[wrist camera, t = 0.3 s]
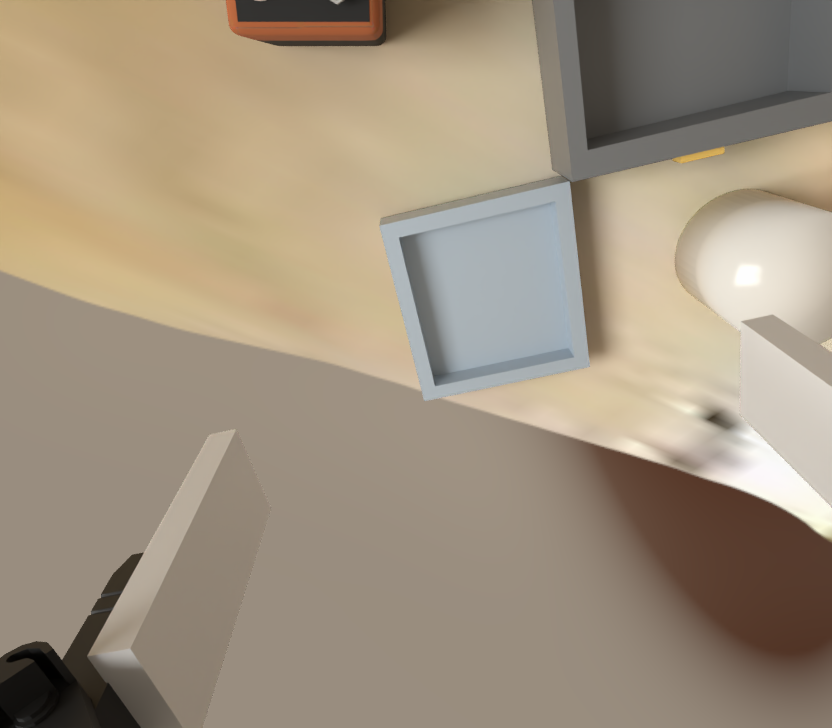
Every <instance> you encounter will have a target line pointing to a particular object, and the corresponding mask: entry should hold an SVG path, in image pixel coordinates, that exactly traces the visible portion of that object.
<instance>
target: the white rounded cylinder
mask: <svg viewBox="0 0 832 728" xmlns="http://www.w3.org/2000/svg"><path fill="white" fill-rule="evenodd" d="M675 270H676V273H677V277H678V279H679V281H680V283H681V285H682V286H683V288H684V289H685V290H686V291H687V292H688V293H689V294H690V295H691V296H693V297H694V298H695V299H697V300H698V301H699V302H701V303H702V304H703V305H705V306H706V307H707V308H709V309H710V310H711V311H713V312H714V313H715V314H717V315H718V316H719V317H721V318H722V319H723V320H725V321H726V322H727V323H729V324H730V325H731V326H733V327H734V328H735V329H737V330H738V331H739V332H741V321H744V320H749V319H754V318H758V317H763V316H768V315H772V314H773V315H774V316H776V317H778V318H779V319H781V320H782V321H784V322H785V323H787V324H788V325H790V326H792V327H793V328H795V329H796V330H798V331H799V332H801V333H802V334H804V335H806V336H807V337H809V338H810V339H812V340H813V341H815V342H816V343H818V344H821V343H823V342H825V341H827V340H829V339H831V338H832V212H830V211H826V210H823V209H820V208H817V207H813V206H810V205H807V204H804V203H800V202H797V201H794V200H791V199H787V198H784V197H781V196H778V195H774V194H771V193H768V192H764V191H761V190H755V189H742V190H736V191H732V192H728V193H725V194H723V195H721V196H718V197H717V198H715V199H713V200H711V201H710V202H708V203H707V204H705V205H704V206H703V207H702V208H701V209H699V210H698V211H697V212H696V213H695V214H694V215H693V217H692V218H691V219H690V220H689V222H688V223H687V224H686V226H685V228H684V229H683V231H682V233H681V235H680V238H679V240H678V243H677V246H676V252H675Z"/></svg>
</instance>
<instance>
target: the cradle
mask: <svg viewBox="0 0 832 728" xmlns="http://www.w3.org/2000/svg"><path fill="white" fill-rule="evenodd" d="M532 4H533V12H534V20H535V29H536V37H537V45H538V54H539V62H540V70H541V78H542V87H543V95H544V103H545V112H546V120H547V128H548V137H549V145H550V153H551V162H552V170H554V171H555V172H557V173H559V174H560V175H562V176H563V177H565V178H567V179H568V180H570V181H572V182H575V181H579V180H583V179H587V178H592V177H596V176H600V175H604V174H609V173H613V172H617V171H622V170H626V169H630V168H634V167H639V166H643V165H647V164H651V163H656V162H660V161H664V160H668V159H673V161H675V162H678V163H685V162H689V161H693V160H698V159H702V158H706V157H710V156H715V155H719V154H723V153H724V146H728V145H732V144H737V143H741V142H745V141H750V140H754V139H758V138H762V137H767V136H771V135H775V134H779V133H784V132H788V131H792V130H796V129H801V128H805V127H809V126H814V125H818V124H822V123H826V122H831V121H832V0H532Z"/></svg>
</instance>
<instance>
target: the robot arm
mask: <svg viewBox="0 0 832 728" xmlns="http://www.w3.org/2000/svg"><path fill="white" fill-rule="evenodd" d="M739 415H740V416H741V417H742V418H743V419H744V420H745V421H746V422H747V423H748V424H749V425H750V426H751V427H752V428H753V429H754V430H755V431H756V432H757V433H758V434H759V435H760V436H761V437H762V438H763V439H764V440H765V441H766V442H767V443H768V444H769V445H770V446H771V447H772V448H773V449H774V450H775V451H776V452H777V453H778V454H779V455H780V456H781V457H782V458H783V459H784V460H785V461H786V462H787V463H788V464H789V465H790V466H791V467H792V468H793V469H794V470H795V471H796V472H797V473H798V474H799V475H800V476H801V477H802V478H803V479H804V480H805V481H806V482H807V483H808V484H809V485H810V486H811V487H812V488H813V489H814V490H815V491H816V492H817V493H818V494H819V495H820V496H821V497H822V498H823V499H824V500H825V501H826V502H827V503H828V504H829V505H830V506H831V507H832V352H830V351H829V350H827V349H826V348H824V347H823V346H821V345H820V344H818V343H816V342H815V341H813V340H812V339H810V338H809V337H807V336H806V335H804V334H802V333H801V332H799V331H798V330H796V329H795V328H793V327H792V326H790V325H788V324H787V323H785V322H784V321H782V320H781V319H779V318H778V317H776V316H774V315H773V314H772V315H768V316H763V317H758V318H754V319H749V320H744V321H741V344H740V410H739ZM270 511H271V507H270V504H269V502H268V499H267V497H266V495H265V493H264V490H263V488H262V486H261V484H260V481H259V479H258V477H257V474H256V472H255V470H254V468H253V465H252V463H251V461H250V459H249V456H248V454H247V452H246V450H245V447H244V445H243V443H242V440H241V438H240V436H239V433H238V431H237V429H233V430H229V431H224V432H220V433H215V434H210V435H209V436H208V438H207V440H206V442H205V443H204V445H203V447H202V449H201V451H200V452H199V454H198V456H197V458H196V460H195V462H194V463H193V465H192V467H191V469H190V471H189V472H188V474H187V476H186V478H185V480H184V481H183V483H182V485H181V487H180V489H179V490H178V493H177V494H176V496H175V498H174V500H173V501H172V503H171V505H170V507H169V509H168V510H167V512H166V514H165V516H164V518H163V520H162V521H161V523H160V525H159V527H158V529H157V530H156V532H155V534H154V536H153V538H152V540H151V542H150V543H149V545H148V547H147V548H146V550H145V552H144V553H139V554H134V555H131V556H130V558H129V559H127V561H126V562H125V563H124V564H123V565H122V566H121V567H120V568H119V569H118V570H117V571H116V572H115V573H114V574H113V575H112V577H111V578H110V580H109V582H108V583H107V585H106V587H105V589H104V590H103V592H102V594H101V598H100V599H98V601H97V602H96V604H95V606H94V607H93V609H92V611H91V615H89V616H88V617H87V619H86V621H85V622H84V624H83V626H82V628H81V629H80V631H79V633H78V634H77V636H76V638H75V639H74V641H73V643H72V644H71V646H70V648H69V649H68V651H67V653H66V655H65V656H64V658H63V660H61V659H60V657H59V656H58V655H57V653H56V652H55V651H54V649H53V648H52V647H51V646H50V645H49V644H48V643H47V642H37V641H36V642H32V643H29V644H25V645H22V646H20V647H18V648H16V649H14V650H12V651H10V652H8V653H6V654H5V655H3V656H2V657H1V658H0V728H203V724H204V721H205V718H206V715H207V712H208V708H209V705H210V702H211V699H212V696H213V693H214V689H215V686H216V683H217V680H218V676H219V673H220V670H221V667H222V664H223V661H224V658H225V654H226V651H227V648H228V645H229V642H230V638H231V635H232V632H233V629H234V625H235V622H236V619H237V616H238V613H239V610H240V606H241V603H242V600H243V597H244V594H245V590H246V587H247V584H248V581H249V578H250V575H251V571H252V568H253V565H254V561H255V558H256V555H257V552H258V549H259V546H260V542H261V539H262V536H263V533H264V530H265V526H266V523H267V520H268V517H269V514H270Z"/></svg>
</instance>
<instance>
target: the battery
mask: <svg viewBox="0 0 832 728" xmlns="http://www.w3.org/2000/svg"><path fill="white" fill-rule="evenodd" d="M226 5H227V13H228V21H229V26H230V29H231V30H232V31H233V32H234V33H235V34H237V35H240V36H243V37H247V38H250V39H254V40H258V41H262V42H265V43H269V44H273V45H277V46H379V45H381V44H383V43H384V41H385V40H386V9H385V0H226Z"/></svg>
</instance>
